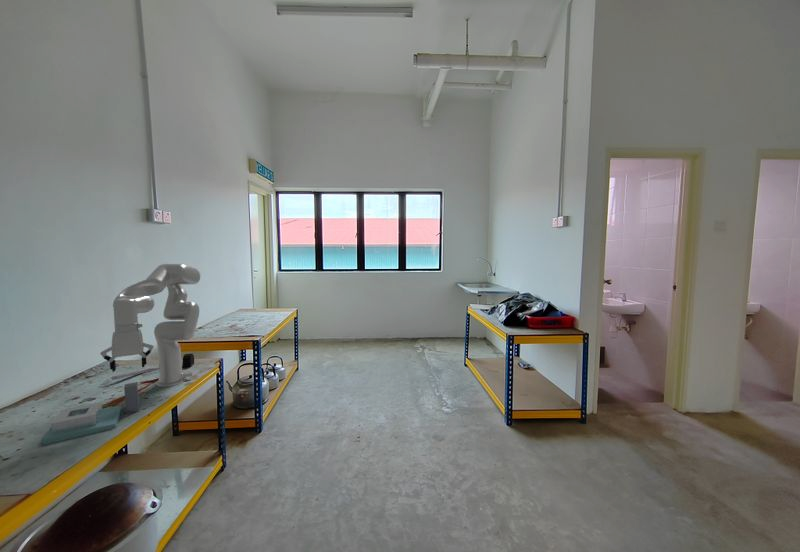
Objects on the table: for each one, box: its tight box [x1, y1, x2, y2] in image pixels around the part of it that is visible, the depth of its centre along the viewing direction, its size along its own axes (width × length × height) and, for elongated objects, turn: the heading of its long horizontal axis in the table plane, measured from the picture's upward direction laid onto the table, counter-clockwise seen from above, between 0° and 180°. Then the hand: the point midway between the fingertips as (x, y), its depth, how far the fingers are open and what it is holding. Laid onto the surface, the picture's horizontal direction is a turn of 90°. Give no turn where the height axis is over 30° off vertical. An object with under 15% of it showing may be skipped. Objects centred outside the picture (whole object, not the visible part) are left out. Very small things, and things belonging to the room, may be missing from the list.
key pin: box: [123, 381, 140, 415], centre depth 143 cm, size 4×4×12 cm
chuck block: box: [41, 402, 124, 446], centre depth 133 cm, size 20×18×6 cm
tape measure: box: [182, 353, 195, 369], centre depth 199 cm, size 15×4×8 cm, turn 16°
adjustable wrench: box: [111, 365, 159, 381], centre depth 182 cm, size 25×6×2 cm, turn 160°
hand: (129, 368), depth 142 cm, fingers open, 9 cm apart
